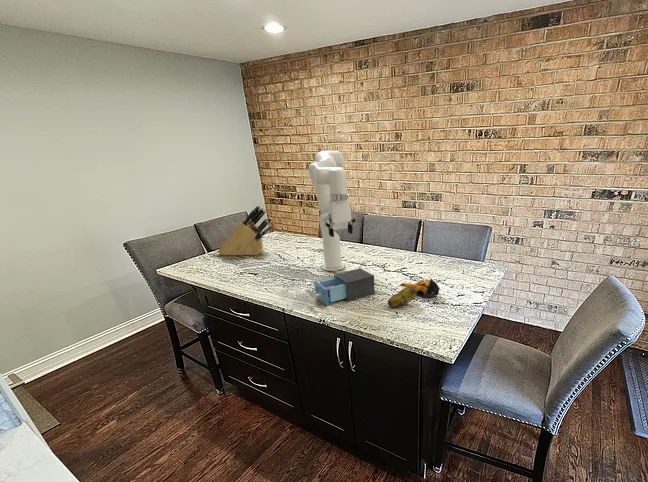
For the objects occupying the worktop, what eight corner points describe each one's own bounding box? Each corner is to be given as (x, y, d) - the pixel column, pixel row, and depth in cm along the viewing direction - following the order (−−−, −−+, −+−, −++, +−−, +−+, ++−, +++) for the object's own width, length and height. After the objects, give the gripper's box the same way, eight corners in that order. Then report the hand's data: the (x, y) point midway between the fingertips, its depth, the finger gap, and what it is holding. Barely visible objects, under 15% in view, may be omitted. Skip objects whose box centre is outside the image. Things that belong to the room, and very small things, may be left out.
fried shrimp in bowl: (439, 293, 148) (401, 278, 149) (432, 307, 156) (396, 293, 158) (444, 278, 154) (407, 264, 155) (437, 293, 162) (402, 279, 164)
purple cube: (325, 295, 154) (324, 287, 153) (333, 292, 156) (332, 284, 155) (329, 298, 151) (328, 289, 150) (337, 295, 153) (336, 287, 152)
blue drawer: (316, 308, 145) (314, 292, 142) (306, 298, 153) (304, 284, 150) (353, 297, 154) (352, 282, 151) (341, 289, 163) (340, 275, 160)
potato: (386, 301, 151) (386, 285, 148) (415, 300, 152) (415, 284, 149) (388, 310, 144) (387, 293, 141) (417, 309, 144) (418, 292, 141)
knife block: (272, 255, 216) (264, 207, 204) (217, 256, 217) (207, 207, 205) (277, 250, 227) (270, 203, 214) (225, 250, 227) (216, 204, 215)
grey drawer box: (347, 301, 152) (346, 282, 149) (335, 292, 162) (333, 274, 158) (374, 293, 160) (374, 275, 156) (360, 285, 169) (360, 268, 166)
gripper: (351, 194, 159) (353, 230, 165) (317, 198, 150) (320, 236, 156) (359, 196, 153) (361, 233, 160) (324, 200, 144) (328, 239, 151)
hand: (341, 234), depth 158 cm, fingers open, 9 cm apart
